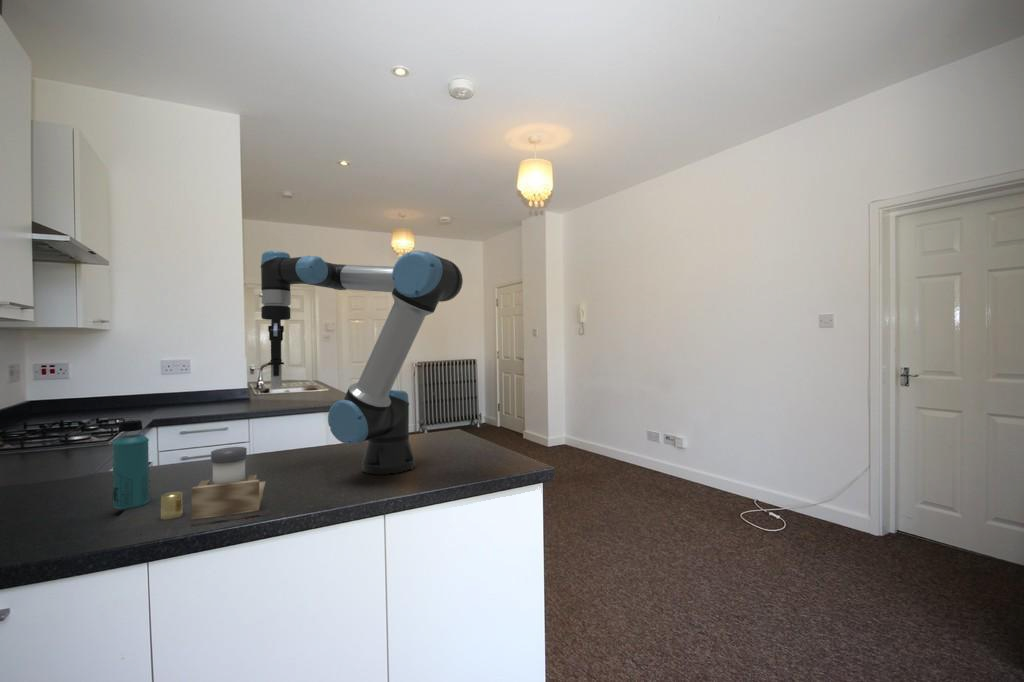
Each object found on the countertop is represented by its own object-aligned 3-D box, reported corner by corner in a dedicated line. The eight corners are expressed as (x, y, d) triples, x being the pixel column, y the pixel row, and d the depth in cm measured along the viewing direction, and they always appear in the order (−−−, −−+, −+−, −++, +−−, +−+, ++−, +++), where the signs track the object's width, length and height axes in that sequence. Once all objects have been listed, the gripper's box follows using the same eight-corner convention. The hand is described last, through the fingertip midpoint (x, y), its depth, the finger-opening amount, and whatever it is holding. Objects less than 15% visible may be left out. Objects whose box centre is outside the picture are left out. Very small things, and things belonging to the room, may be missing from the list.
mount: (265, 487, 121) (265, 457, 121) (258, 517, 100) (258, 481, 100) (210, 493, 116) (210, 463, 116) (191, 527, 95) (191, 489, 95)
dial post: (184, 519, 99) (184, 490, 99) (180, 525, 96) (180, 495, 96) (163, 522, 97) (163, 493, 97) (158, 528, 94) (158, 498, 94)
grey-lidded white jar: (248, 499, 106) (247, 445, 107) (245, 508, 100) (245, 451, 101) (213, 503, 104) (213, 448, 104) (208, 512, 98) (208, 454, 98)
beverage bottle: (157, 507, 106) (157, 418, 107) (126, 517, 100) (126, 423, 100) (135, 505, 108) (135, 417, 108) (103, 515, 102) (103, 422, 102)
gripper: (262, 307, 141) (263, 386, 140) (259, 303, 129) (260, 389, 129) (290, 307, 144) (291, 385, 144) (290, 304, 132) (290, 388, 132)
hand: (276, 387), depth 136 cm, fingers closed
